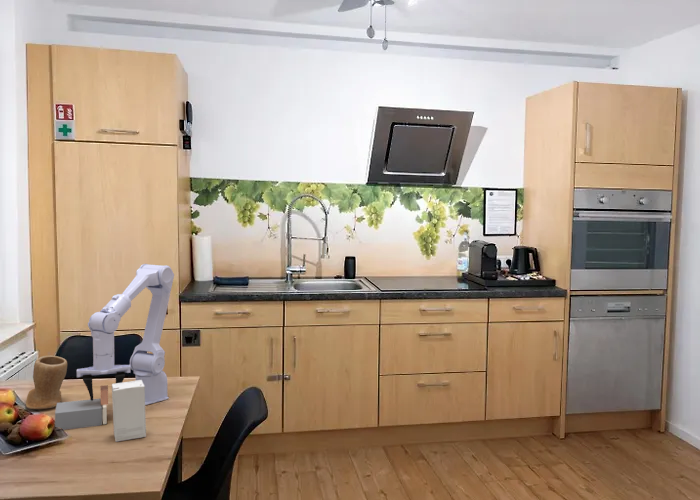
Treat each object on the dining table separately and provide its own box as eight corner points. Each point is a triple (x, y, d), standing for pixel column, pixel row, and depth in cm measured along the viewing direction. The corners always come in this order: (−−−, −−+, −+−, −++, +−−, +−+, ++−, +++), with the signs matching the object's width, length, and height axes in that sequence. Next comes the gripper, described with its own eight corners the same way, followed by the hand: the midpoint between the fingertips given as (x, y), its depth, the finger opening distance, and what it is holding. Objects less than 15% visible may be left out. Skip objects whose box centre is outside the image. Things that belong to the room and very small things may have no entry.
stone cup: (67, 409, 183) (66, 361, 182) (23, 414, 178) (21, 365, 177) (69, 394, 197) (68, 349, 196) (28, 397, 192) (27, 352, 191)
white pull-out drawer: (59, 429, 167) (58, 397, 166) (61, 417, 175) (60, 387, 175) (108, 423, 172) (108, 392, 171) (107, 412, 180) (107, 382, 180)
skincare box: (143, 430, 169) (143, 378, 167) (146, 438, 163) (146, 385, 162) (111, 434, 165) (111, 382, 164) (113, 442, 159) (113, 388, 158)
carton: (55, 430, 167) (55, 413, 166) (57, 419, 175) (56, 402, 174) (101, 425, 171) (101, 408, 171) (101, 414, 179) (101, 398, 179)
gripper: (76, 358, 167) (76, 405, 169) (130, 354, 173) (131, 399, 174) (76, 352, 174) (77, 397, 175) (129, 348, 180) (130, 392, 181)
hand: (104, 398), depth 175 cm, fingers open, 6 cm apart
